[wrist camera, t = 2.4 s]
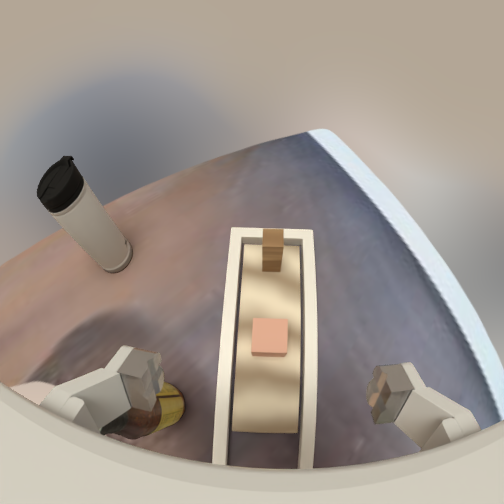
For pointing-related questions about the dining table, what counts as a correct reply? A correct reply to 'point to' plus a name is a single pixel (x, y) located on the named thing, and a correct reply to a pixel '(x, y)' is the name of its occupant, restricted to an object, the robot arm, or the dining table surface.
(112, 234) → the travel mug
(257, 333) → the terracotta block
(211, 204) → the dining table surface
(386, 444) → the dining table surface
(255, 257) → the pale strip
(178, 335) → the dining table surface
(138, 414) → the sauce bottle
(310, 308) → the guide rails
